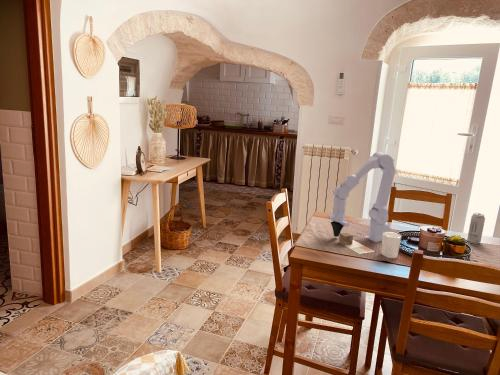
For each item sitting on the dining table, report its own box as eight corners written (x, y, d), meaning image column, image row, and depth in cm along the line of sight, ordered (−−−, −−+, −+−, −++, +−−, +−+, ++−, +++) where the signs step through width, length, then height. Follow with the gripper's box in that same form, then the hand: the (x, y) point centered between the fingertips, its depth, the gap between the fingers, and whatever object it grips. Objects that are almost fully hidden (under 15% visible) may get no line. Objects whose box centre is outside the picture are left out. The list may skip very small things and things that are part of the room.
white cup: (396, 260, 168) (399, 239, 166) (378, 256, 172) (381, 235, 170) (400, 254, 175) (403, 234, 172) (382, 250, 179) (385, 230, 176)
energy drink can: (464, 240, 198) (469, 213, 194) (471, 239, 201) (476, 212, 197) (475, 244, 193) (481, 216, 189) (482, 243, 195) (488, 215, 192)
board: (352, 240, 190) (352, 239, 190) (374, 252, 176) (374, 251, 176) (337, 242, 187) (337, 241, 187) (359, 254, 173) (359, 253, 172)
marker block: (346, 241, 188) (347, 232, 187) (352, 244, 184) (353, 235, 183) (338, 242, 186) (339, 233, 185) (344, 245, 182) (345, 236, 181)
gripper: (323, 206, 193) (321, 232, 196) (341, 214, 180) (338, 241, 183) (335, 205, 196) (332, 230, 199) (353, 213, 183) (350, 240, 186)
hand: (336, 236), depth 191 cm, fingers closed
